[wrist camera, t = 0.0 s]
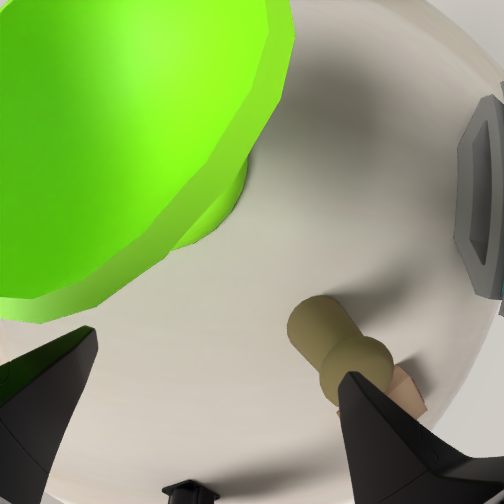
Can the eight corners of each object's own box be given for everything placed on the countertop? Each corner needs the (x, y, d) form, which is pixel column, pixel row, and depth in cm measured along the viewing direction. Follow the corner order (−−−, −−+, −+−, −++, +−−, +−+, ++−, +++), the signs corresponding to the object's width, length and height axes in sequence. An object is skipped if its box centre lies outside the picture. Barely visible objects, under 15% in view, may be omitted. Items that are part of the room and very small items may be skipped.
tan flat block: (365, 440, 28) (373, 453, 25) (336, 412, 26) (345, 427, 24) (417, 397, 28) (428, 408, 25) (397, 362, 26) (410, 374, 23)
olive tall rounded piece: (349, 295, 25) (417, 338, 14) (340, 351, 26) (393, 413, 15) (289, 295, 24) (332, 348, 13) (283, 354, 25) (314, 428, 14)
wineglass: (181, 286, 23) (90, 423, 6) (58, 194, 21) (-89, 180, 4) (283, 138, 23) (381, 1, 5) (148, 63, 21) (85, -65, 3)
